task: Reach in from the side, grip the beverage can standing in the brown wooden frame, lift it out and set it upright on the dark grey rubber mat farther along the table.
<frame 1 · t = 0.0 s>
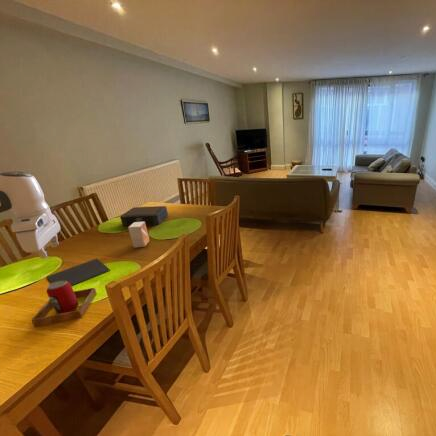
hand: (50, 251, 90), 23 cm above the table, tool pointing down, fingers open, 8 cm apart
rubber mat: (79, 273, 116), on the table
small box: (142, 244, 144), on the table
cash box: (146, 220, 178), on the table
beverage can: (68, 309, 95), resting in brown wooden frame
brown wooden frame: (68, 308, 95), on the table
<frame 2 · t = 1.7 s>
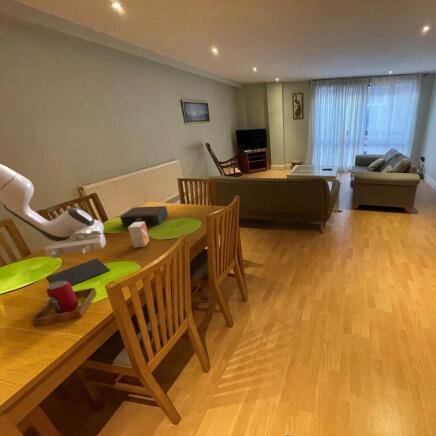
hand: (67, 254, 98), 18 cm above the table, tool horizontal, fingers open, 8 cm apart
nothing on the table moved.
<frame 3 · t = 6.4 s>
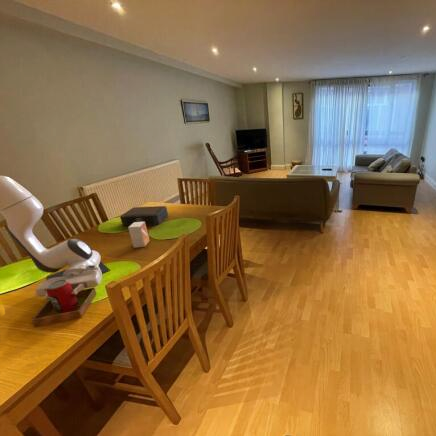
hand: (60, 295, 91), 7 cm above the table, tool horizontal, fingers closed on beverage can, 6 cm apart
beverage can: (68, 309, 95), resting in brown wooden frame, touching gripper
everything else where it was.
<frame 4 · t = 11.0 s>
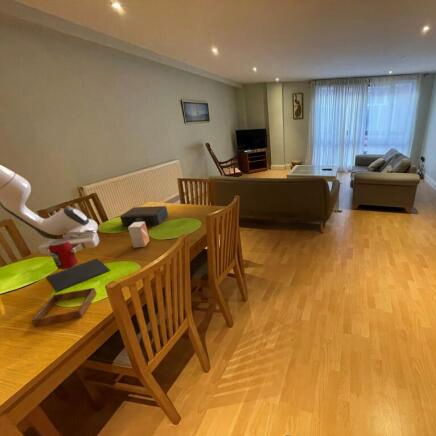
hand: (61, 253, 101), 17 cm above the table, tool horizontal, fingers closed on beverage can, 6 cm apart
beverage can: (68, 266, 105), point 10 cm above the table, touching gripper
everything else where it was.
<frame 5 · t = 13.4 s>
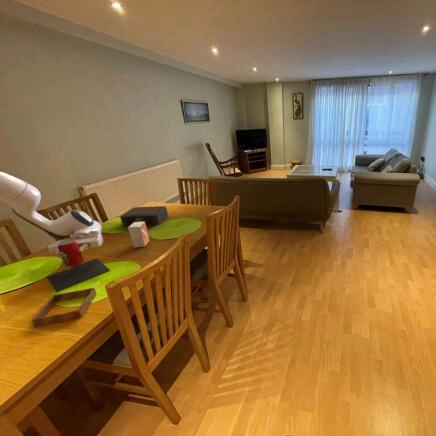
hand: (69, 251, 111), 13 cm above the table, tool horizontal, fingers closed on beverage can, 6 cm apart
beverage can: (75, 264, 114), point 5 cm above the table, touching gripper
everything else where it was.
when the fingers open (8 cm above the table, at t = 15.5 s): beverage can stays where it is, resting on rubber mat.
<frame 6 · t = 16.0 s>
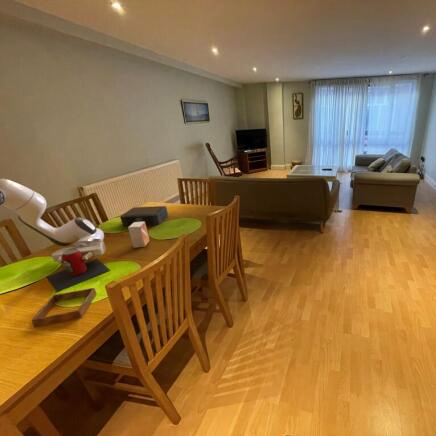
hand: (72, 260, 112), 8 cm above the table, tool horizontal, fingers open, 8 cm apart
beverage can: (79, 273, 116), resting on rubber mat
everything else where it was.
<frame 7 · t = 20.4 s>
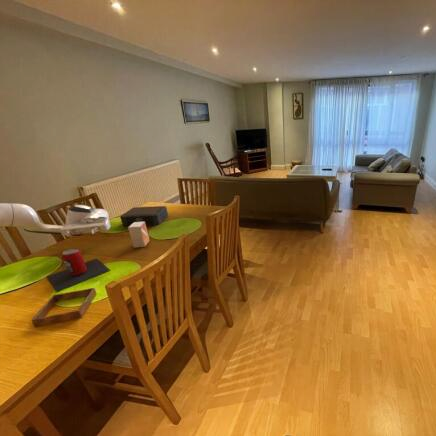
hand: (79, 234, 120), 16 cm above the table, tool horizontal, fingers open, 8 cm apart
nothing on the table moved.
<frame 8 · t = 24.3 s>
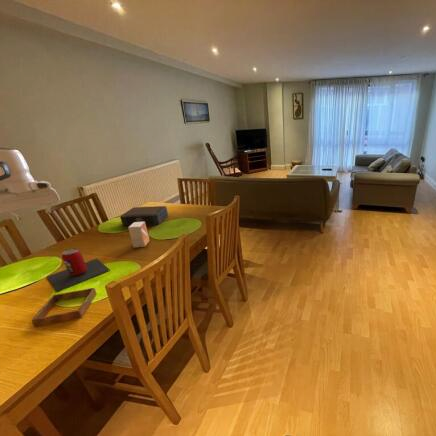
hand: (34, 216, 108), 29 cm above the table, tool pointing down, fingers open, 8 cm apart
nothing on the table moved.
at the end: beverage can inside the target area on the rubber mat (0.1 cm from its centre), point 0.3 cm above the rubber mat's base; beverage can tilted 0°; the gripper is holding nothing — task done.
